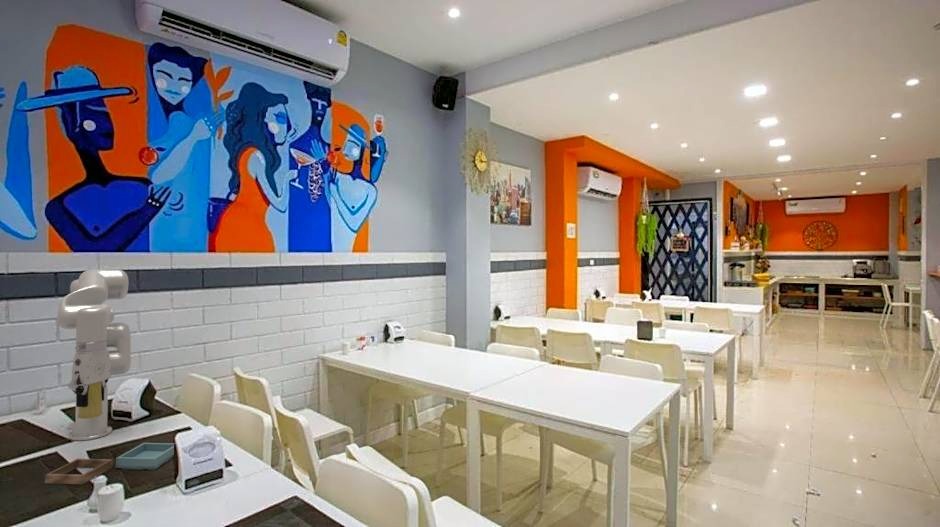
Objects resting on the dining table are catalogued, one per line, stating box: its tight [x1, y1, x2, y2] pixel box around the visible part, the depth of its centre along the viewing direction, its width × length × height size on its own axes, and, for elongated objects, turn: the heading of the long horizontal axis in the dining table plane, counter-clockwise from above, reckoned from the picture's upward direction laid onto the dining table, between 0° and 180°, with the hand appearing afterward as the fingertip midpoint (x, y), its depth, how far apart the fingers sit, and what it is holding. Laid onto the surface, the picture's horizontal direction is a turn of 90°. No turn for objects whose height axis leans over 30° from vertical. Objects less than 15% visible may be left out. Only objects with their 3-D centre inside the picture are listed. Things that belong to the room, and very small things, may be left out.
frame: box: [44, 458, 114, 485], centre depth 146 cm, size 12×12×2 cm
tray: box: [115, 442, 175, 471], centre depth 157 cm, size 13×13×4 cm
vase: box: [78, 381, 103, 419], centre depth 148 cm, size 6×6×14 cm
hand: (90, 403), depth 148 cm, fingers closed on vase, 5 cm apart
